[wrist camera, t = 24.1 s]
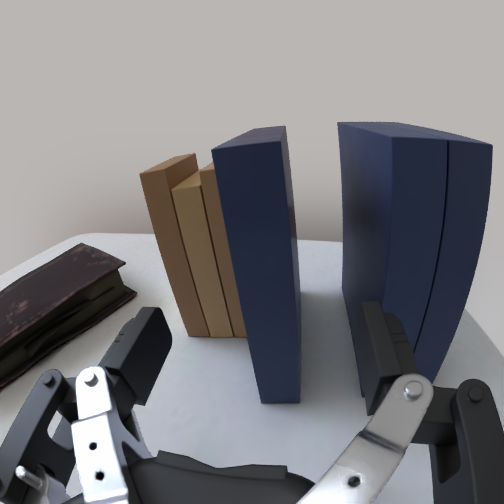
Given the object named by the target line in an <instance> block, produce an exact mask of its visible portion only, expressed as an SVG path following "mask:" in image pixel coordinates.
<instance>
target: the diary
mask: <svg viewBox="0 0 504 504" xmlns="http://www.w3.org/2000/svg"><path fill="white" fill-rule="evenodd" d="M125 264H126V262H124V261H122V260H120V259H118V258H116V257H114V256H112V255H110V254H108V253H105V252H103V251H101V250H99V249H97V248H94V247H91V246H88V245H85V244H83V243H80V244H78V245H76V246H74V247H73V248H71V249H69V250H68V251H66V252H64V253H63V254H61V255H59V256H58V257H56V258H54V259H53V260H51V261H50V262H48V263H46V264H44V265H42V266H40V267H38V268H37V269H35V270H33V271H31V272H29V273H28V274H26V275H24V276H22V277H21V278H19V279H18V280H16V281H15V282H13V283H12V284H10V285H9V286H7V287H6V288H4V289H3V290H2V291H0V387H2V386H3V385H5V384H6V383H8V382H9V381H11V380H12V379H14V378H15V377H17V376H19V375H20V374H22V373H23V372H24V371H25V370H27V369H28V368H29V367H30V366H32V365H33V364H34V363H35V362H37V361H38V360H39V359H40V358H42V357H43V356H44V355H46V354H47V353H48V352H49V351H51V350H52V349H53V348H55V347H56V346H58V345H60V344H61V343H63V342H65V341H67V340H69V339H70V338H72V337H74V336H76V335H77V334H79V333H81V332H83V331H84V330H86V329H88V328H90V327H92V326H93V325H95V324H97V323H98V322H99V321H101V320H102V319H103V318H105V317H106V316H107V315H109V314H110V313H111V312H113V311H114V310H115V309H117V308H118V307H120V306H121V305H122V304H124V303H125V302H126V301H128V300H129V299H130V298H132V297H133V296H135V295H136V294H137V292H135V291H134V290H132V289H130V288H129V287H127V286H125V285H124V284H123V282H122V279H121V276H120V274H119V271H118V268H120V267H122V266H123V265H125Z"/></svg>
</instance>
